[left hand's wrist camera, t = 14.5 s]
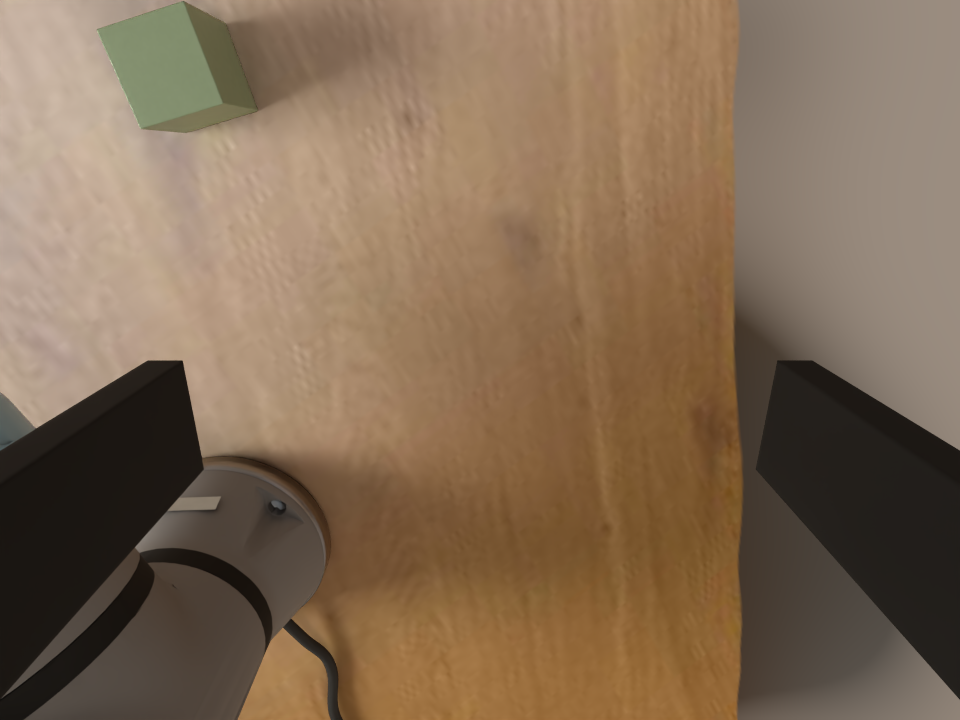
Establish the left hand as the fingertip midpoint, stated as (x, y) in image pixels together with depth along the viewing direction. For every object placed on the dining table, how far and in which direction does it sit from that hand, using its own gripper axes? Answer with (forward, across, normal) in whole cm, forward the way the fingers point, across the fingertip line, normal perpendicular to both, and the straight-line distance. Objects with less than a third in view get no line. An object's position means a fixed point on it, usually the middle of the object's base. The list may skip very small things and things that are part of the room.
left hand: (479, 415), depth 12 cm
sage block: (+27, +17, -10) cm, 33 cm away
